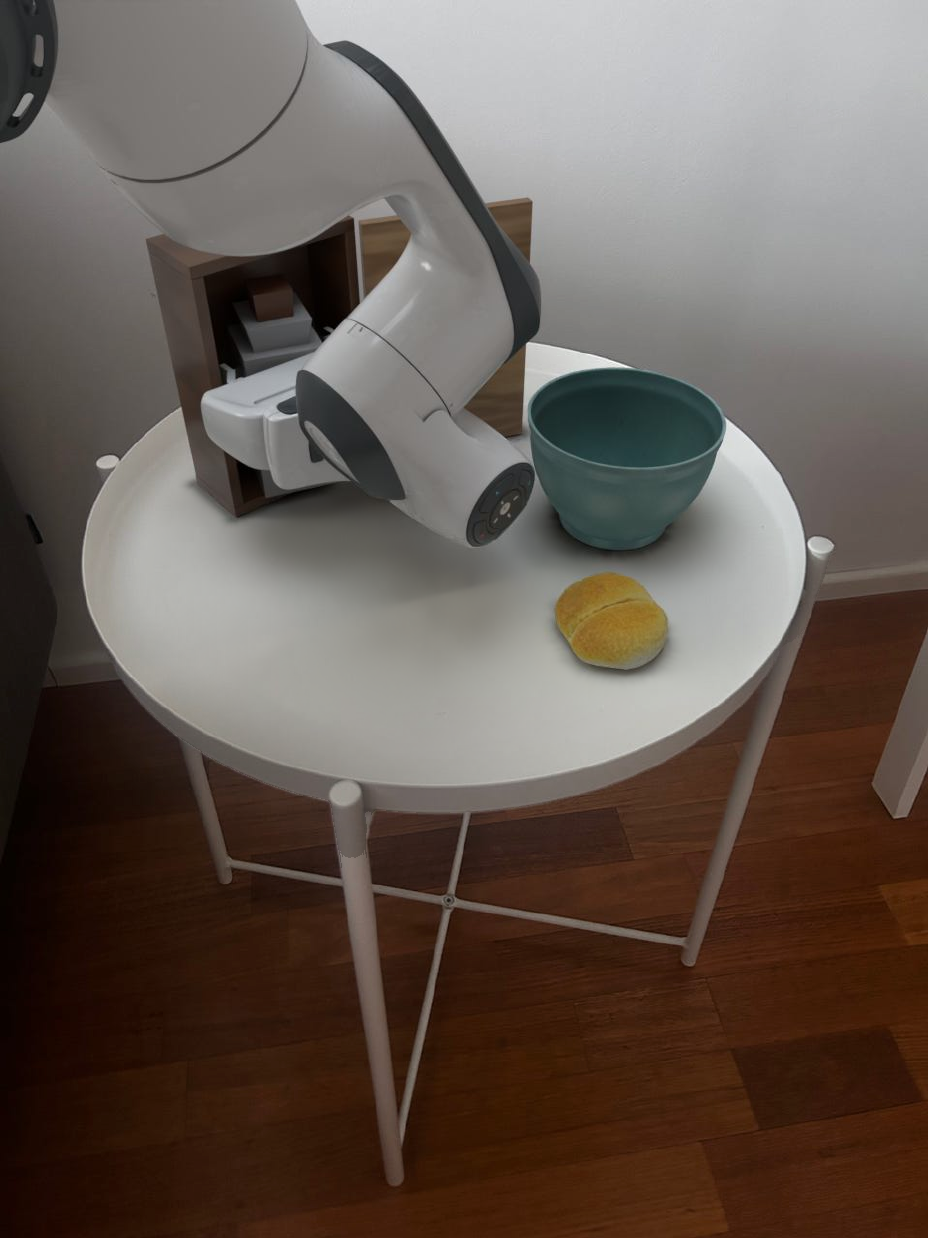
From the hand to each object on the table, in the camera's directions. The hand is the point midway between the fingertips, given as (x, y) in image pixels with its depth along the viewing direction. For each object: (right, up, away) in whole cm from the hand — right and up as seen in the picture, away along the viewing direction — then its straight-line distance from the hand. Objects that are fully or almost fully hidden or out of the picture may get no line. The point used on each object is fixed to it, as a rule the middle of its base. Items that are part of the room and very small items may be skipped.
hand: (274, 352), depth 87 cm
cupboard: (-1, -9, +9) cm, 13 cm away
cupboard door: (+14, -4, +14) cm, 20 cm away
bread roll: (+28, -24, -8) cm, 37 cm away
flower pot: (+30, -14, +3) cm, 33 cm away
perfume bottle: (0, -9, +7) cm, 12 cm away
